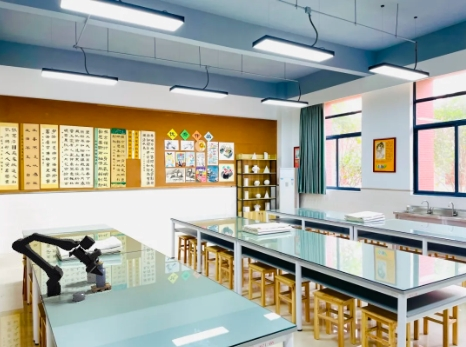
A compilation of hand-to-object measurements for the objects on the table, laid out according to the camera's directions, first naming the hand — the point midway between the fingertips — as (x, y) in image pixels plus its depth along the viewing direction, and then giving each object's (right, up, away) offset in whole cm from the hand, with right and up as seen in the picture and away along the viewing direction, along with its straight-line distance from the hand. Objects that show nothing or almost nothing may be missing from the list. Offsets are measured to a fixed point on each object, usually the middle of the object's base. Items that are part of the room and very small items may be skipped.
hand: (103, 272), depth 205 cm
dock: (-1, -10, 0) cm, 10 cm away
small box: (-11, -10, +15) cm, 21 cm away
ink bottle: (-1, -8, 0) cm, 8 cm away
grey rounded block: (-7, -10, -16) cm, 20 cm away
